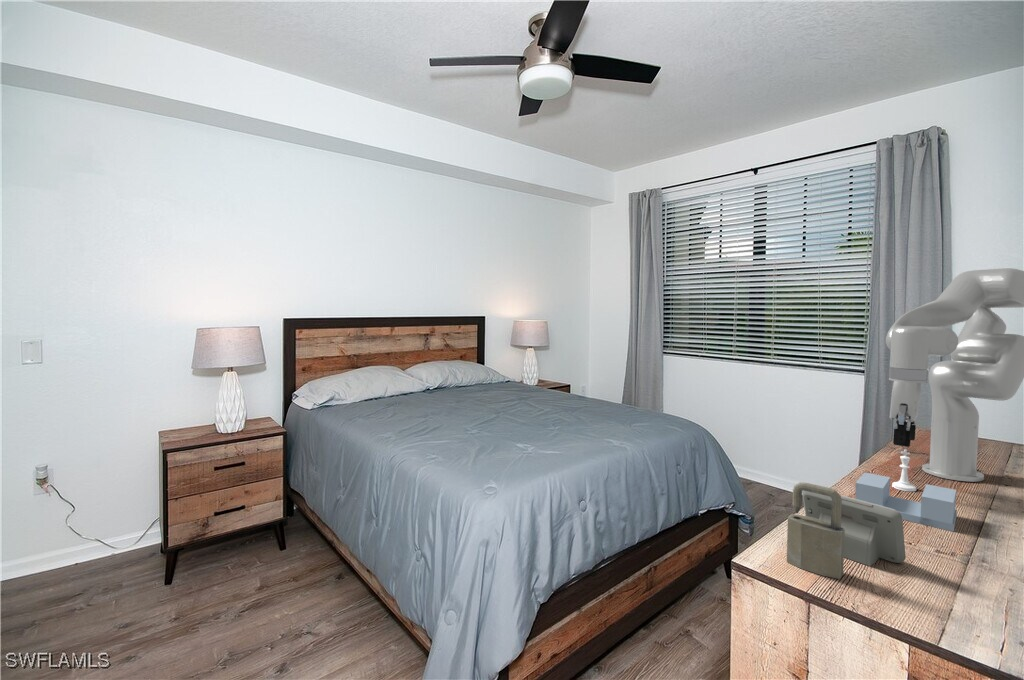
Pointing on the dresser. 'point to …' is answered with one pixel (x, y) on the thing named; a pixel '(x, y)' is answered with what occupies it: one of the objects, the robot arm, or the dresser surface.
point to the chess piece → (904, 475)
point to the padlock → (816, 535)
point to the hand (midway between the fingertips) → (904, 442)
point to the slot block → (911, 502)
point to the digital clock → (862, 527)
